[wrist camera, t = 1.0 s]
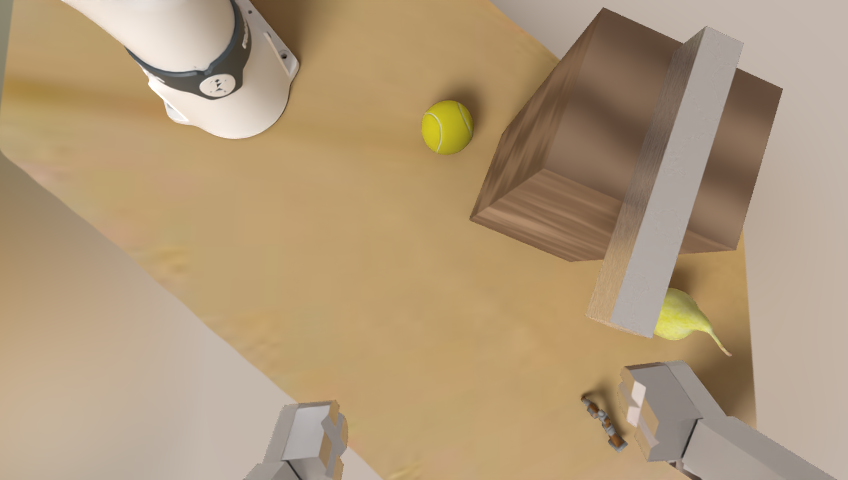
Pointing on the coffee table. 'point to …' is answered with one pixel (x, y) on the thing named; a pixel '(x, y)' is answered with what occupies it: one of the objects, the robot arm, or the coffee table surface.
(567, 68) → the brown patterned box
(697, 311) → the fruit
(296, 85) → the coffee table surface
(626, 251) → the aluminium bar
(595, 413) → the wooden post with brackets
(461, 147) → the tennis ball
